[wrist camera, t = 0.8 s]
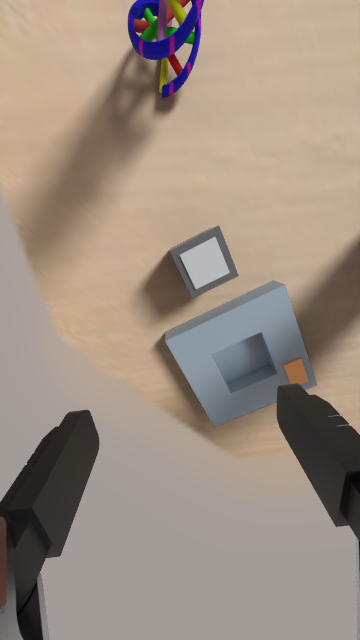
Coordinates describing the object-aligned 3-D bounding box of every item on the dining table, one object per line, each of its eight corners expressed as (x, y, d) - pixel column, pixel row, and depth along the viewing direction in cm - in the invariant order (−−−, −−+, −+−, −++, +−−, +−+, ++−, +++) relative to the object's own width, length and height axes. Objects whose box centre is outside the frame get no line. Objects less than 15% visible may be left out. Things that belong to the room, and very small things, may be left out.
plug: (206, 230, 26) (219, 225, 19) (222, 268, 28) (239, 276, 21) (169, 249, 27) (169, 251, 20) (186, 285, 28) (192, 298, 21)
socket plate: (273, 280, 28) (286, 285, 25) (304, 372, 33) (318, 386, 30) (165, 332, 30) (164, 342, 27) (210, 412, 35) (214, 428, 32)
